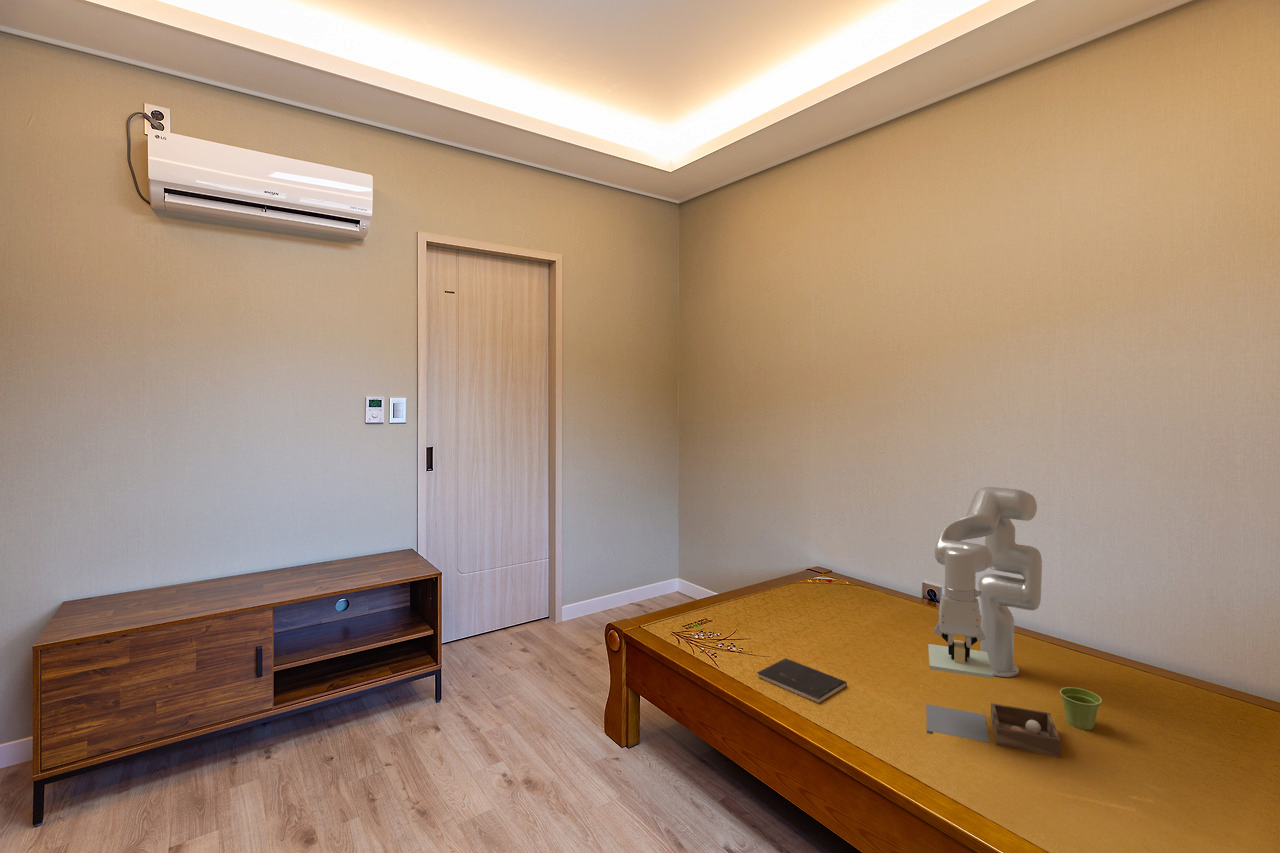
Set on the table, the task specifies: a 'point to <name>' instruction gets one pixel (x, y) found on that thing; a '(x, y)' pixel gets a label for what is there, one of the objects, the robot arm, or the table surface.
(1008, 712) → the walnut box
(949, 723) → the felt mat
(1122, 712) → the table surface
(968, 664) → the lid
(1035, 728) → the cream ball
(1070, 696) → the plant pot
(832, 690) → the hardcover book
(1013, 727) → the terracotta ball
